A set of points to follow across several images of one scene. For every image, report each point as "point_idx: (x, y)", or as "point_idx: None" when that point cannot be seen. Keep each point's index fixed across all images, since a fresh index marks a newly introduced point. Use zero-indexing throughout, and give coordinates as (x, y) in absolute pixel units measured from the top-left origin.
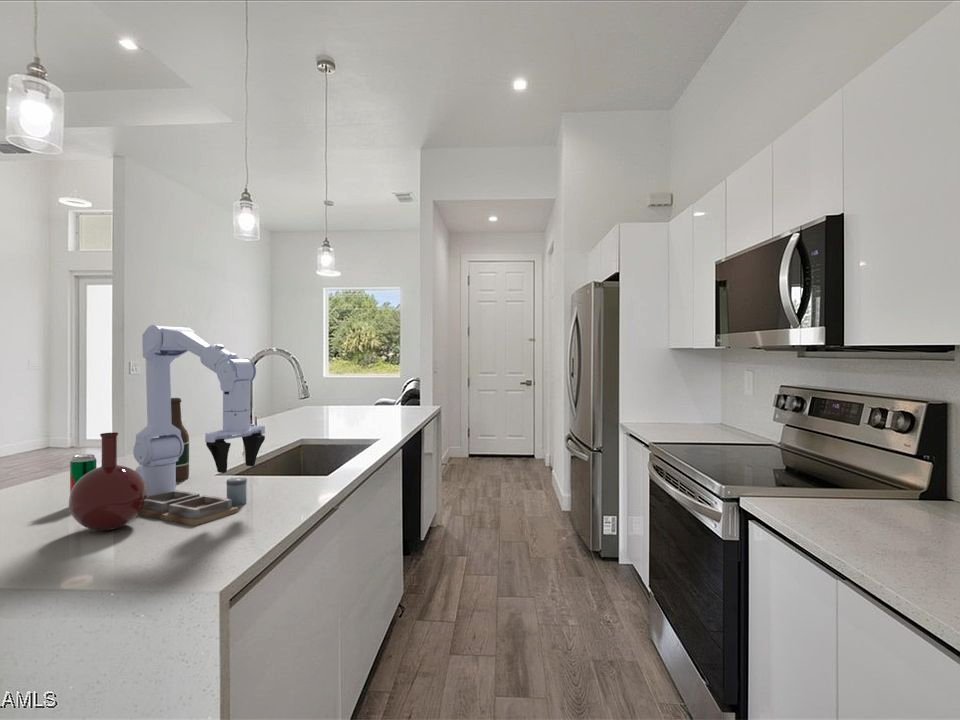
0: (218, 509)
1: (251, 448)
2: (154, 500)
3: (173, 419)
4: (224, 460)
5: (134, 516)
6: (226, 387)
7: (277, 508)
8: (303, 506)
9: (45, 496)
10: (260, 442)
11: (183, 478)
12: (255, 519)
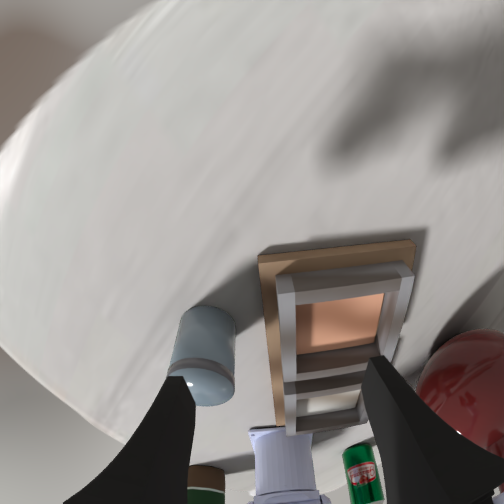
0: (329, 274)
1: (166, 480)
2: None
3: None
4: (421, 406)
5: (457, 340)
6: None
7: (148, 179)
8: (80, 126)
9: (339, 476)
10: (102, 498)
11: (196, 468)
12: (281, 127)
